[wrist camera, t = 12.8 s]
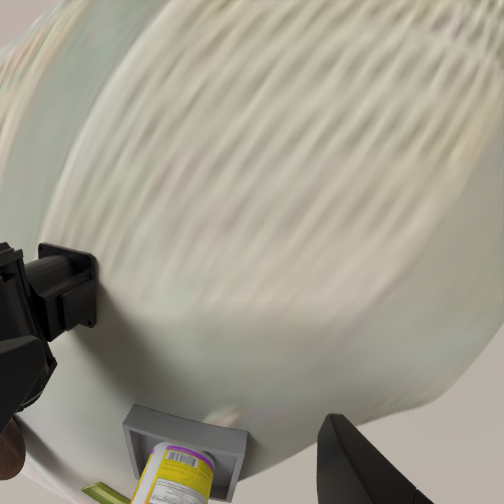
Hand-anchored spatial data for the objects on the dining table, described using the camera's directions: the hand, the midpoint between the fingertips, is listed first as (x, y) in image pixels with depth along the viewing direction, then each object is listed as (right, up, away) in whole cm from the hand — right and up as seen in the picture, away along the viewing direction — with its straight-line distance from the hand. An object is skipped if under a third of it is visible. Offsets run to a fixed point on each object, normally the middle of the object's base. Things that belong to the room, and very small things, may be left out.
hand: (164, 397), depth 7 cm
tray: (-4, -17, +17) cm, 25 cm away
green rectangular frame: (-22, -38, +24) cm, 50 cm away
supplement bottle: (-5, -17, +17) cm, 24 cm away
